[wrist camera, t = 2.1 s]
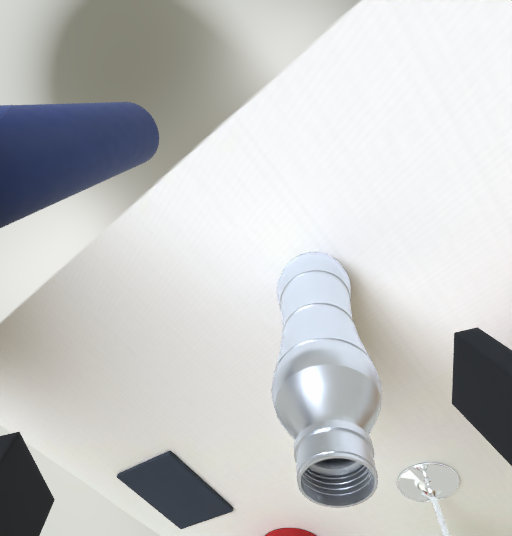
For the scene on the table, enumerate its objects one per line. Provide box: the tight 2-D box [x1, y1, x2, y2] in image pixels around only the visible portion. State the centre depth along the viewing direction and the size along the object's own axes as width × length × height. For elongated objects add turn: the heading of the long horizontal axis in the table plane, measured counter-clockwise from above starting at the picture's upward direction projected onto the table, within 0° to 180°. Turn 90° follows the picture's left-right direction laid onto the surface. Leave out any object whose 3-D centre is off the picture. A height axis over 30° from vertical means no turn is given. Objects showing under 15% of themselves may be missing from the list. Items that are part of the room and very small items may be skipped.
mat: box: [117, 451, 233, 529], centre depth 50 cm, size 14×10×1 cm
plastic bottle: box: [272, 252, 382, 508], centre depth 25 cm, size 6×7×20 cm
